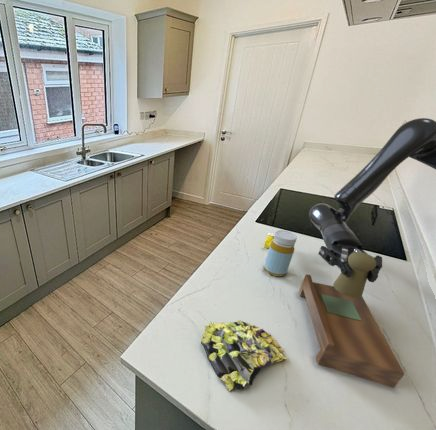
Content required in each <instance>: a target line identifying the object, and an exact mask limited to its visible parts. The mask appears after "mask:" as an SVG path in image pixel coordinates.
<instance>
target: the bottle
mask: <svg viewBox="0 0 436 430" xmlns="http://www.w3.org/2000/svg"><path fill="white" fill-rule="evenodd" d="M274 234H275V235H274V239H273V241H272V242H271V244H270V247H269V248H268V251H267V254H266V258H265V261H264V264H263V268H264V270H265V272H266V273H267V274H269V275H271V276H274V277H283V276H285V275H287V272H288V269H289V267H290V264H291V261H292V258H293V256H294V253H295V244H296V242H297V239H298V237H297V235H296V234H295V233H294V232H292V231H289V230H284V229H280V230H276V231H275V232H274Z"/></svg>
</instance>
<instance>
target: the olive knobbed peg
mask: <svg viewBox="0 0 436 430" xmlns="http://www.w3.org/2000/svg"><path fill="white" fill-rule="evenodd" d="M366 253H367V252H366ZM366 253H362V252H354V253H352V254H350V255H349V257H348V263H349V266H350V267H351V269H352V271H353V272H352V275H351V277H350V278H349V277H346V276H345V275H344V274H342V272H341V273H340V274H339V276H338V277H337V278H336V279H335V281H333V284H332V286H333V287H334V288H335V289H336V290H337V291H339V292H340V293H342V294H344V295H346V296H349V297H356V298H358V297H361V296H362V297H363V294H364V291H365V287H366V283H367V281H368V279H367V277H368V274H369V271H370V270H372V269H374V268H375V266H376V260H375V258H373V257H374V256H372V255H370V254H368V253H367V254H366Z"/></svg>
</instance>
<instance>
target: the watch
mask: <svg viewBox="0 0 436 430" xmlns="http://www.w3.org/2000/svg"><path fill="white" fill-rule="evenodd" d="M274 235H275V232H274V233H273V232H267V237H266V239H265V241H264V244H263V247H264V248H266V249H269V247H270V244H271V242H272V241H273V239H274Z"/></svg>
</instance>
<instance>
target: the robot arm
mask: <svg viewBox="0 0 436 430" xmlns="http://www.w3.org/2000/svg"><path fill="white" fill-rule="evenodd" d="M408 158H411V159H413V160H415V161H417V162H419V163H422V164H424V165H426V166H428V167H430V168H432V169H434V170H436V120H434V119H432V118H426V117H421V118H419V117H418V118H414V119H411V120H409V121H406V122H404V123H403V124H402V125H400V126H399V127H398V128H397V129H396V130H395V132H394V133H393V134H392V135H391V136H390V138H389V139H388V140H387V142H386V143H385V144H384V145H383V146H382V148H381V149H380V150H379V151H378V153H376V155H375V156H374V157H372V159H371V160H370V161H369V162H368V163H367V164H366V165H365V166H364V167H363V168H362V169H361V170H360V171H359V172H358V173H357V174H356V175H354V177H352V179H350V180H349V181H348V182H347V183H346V184H344V185H343V186H342V187H341V188H340V189H339V190H338V191H337V192H336V193H335V194H334V196H333V198H334V200H335V201H336V202H337V203H338V204H339V208H338V210H337V209H335V208H334V207H332V206H331V205H329V204H327V203H317V204H315V205H312V207H310V209H309V212H308V218H309V220H310V222H311V223H312V224H313V225H314V226H315V227H316V228H317V229H318V230H319V232H320V234H321V236H322V239H323V243H324V245H325V246H324V245H321V246H320V248H319V251H318V255H319V256H320V257H321V258H322V259H323V260H324V261H325V262H326V263H327V264H328V265H329V266H331V267H337V268H338V269H339V270H340V272H341V273H342V274H344V275H345V276H346V277H349V278H350V277H351V275H352V272H353V271H352V269H351V267H350V266H349V263H348V257H349V255H350V254H352V253H354V252H362V253H366V254H368V253H367V252H366V251H364V248H363V243H361V241H360V240H359V239H358V237H357V235H356V234H355V232H354V231H353V230H351V229H350V227H349V226H348V224H347V222H348V221H349V219H350V218H351V216H352V214H354V212H355V211H356V209H357V207H359V206H360V205H361V204H362V203H363V202H364V201H365V200H367V199H368V198H370V196H371V195H372V194H374V193H375V192H376V191H377V189H378V188H380V186H381V185H382V184H383V183H384V182H385V180H386V179H387V178H388V176H389V175H390V174H391V173H392V172H393V171H394V170H395V169H397V167H399V165H400V164H402V163H403V162H404V161H406V160H407V159H408ZM372 257H373V258H375V260H376V266H375V268H374V269H372V270H370V271H369V274H368V277H367V281H368V282H369V283H375V282H376V281H377V279H378V278H379V273H380V271H381V269H382V268H383V256H381V255H378V254H377V255H375V256H372Z"/></svg>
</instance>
